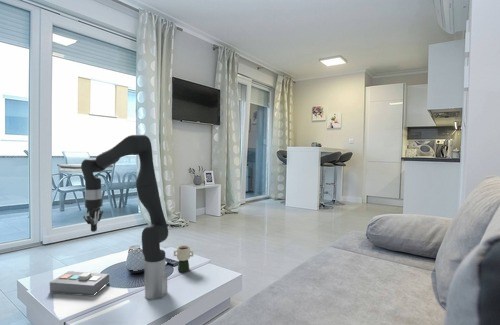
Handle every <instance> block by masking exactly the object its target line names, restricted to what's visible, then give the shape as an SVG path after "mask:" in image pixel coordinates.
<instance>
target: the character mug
mask: <svg viewBox="0 0 500 325" xmlns="http://www.w3.org/2000/svg"><path fill="white" fill-rule="evenodd" d="M173 256H174V257H176V258H177V261H178V264H177V265H178V266H177V271H179V272H180V273H181V272H182V273H184V272H186V271H187V272H188V271H190V264H189V260H190V258H191V257H192V258H193V257H194V251H193V250H191V246H189V245H179V246H177V247H176V250H173Z"/></svg>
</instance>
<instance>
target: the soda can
mask: <svg viewBox="0 0 500 325" xmlns="http://www.w3.org/2000/svg"><path fill="white" fill-rule="evenodd" d="M128 249H129V250H128V252H127V254H128V253H129V251H130V250H133V249H141V250H142V247H141V246H140V245H132V246H129V248H128Z"/></svg>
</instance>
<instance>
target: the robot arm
mask: <svg viewBox="0 0 500 325" xmlns="http://www.w3.org/2000/svg"><path fill="white" fill-rule="evenodd" d="M130 155H132V156H133V155H134V156H135V155H138V157H139V169H138V170H139V171H138V174H137V176H136V182H135V186H136V192H137V197H138V199H139V202H140V203H141V204H142V205H143V207H144V208H145V209H146V211H147V212H148V215H149V218H150V219H149V220H150V225H148V226H145V227H144V229H143V230H142V232H141V252H142V255H143V256H144V297H145V299H148V300H159V299H163V298H164V297H165V295H167V293H168V272H167V270H166V269H167V268H166V252H165V250H163V249H161V245H160V244H161V243H163V242H164V241H166V240H167V238H168V237H169V229H168V227H169V226H168V224H167V221H166V218H165V215H164V214H165V213H164V210H163V207H162V203H161V197H160V192H159V187H158V182H157V177H156V173H155V166H154V159H153V158H154V157H153V149H152V142H151V139H150V137H148V136H147V135H146V134H130V135H127V136H126V137H124V139H123V138H122V140H121V141H120V142H118V143H117V144H115V146H113V147H112V148H109V149H108V150H105V151H103V152H101V153H100V154H98V155H97V156H96V157H95V158H86V159H85V158H84V159H83V160H82V162H81V166H80V170H81V172H82V175H83V179H84V181H85V182H84V183H85V184H84V185H85V186H84V187H85V191H84V204H85V206H84V207H85V208H86V209H87V210H86V215H83V219H84V221H85V222H86V223H87V225H90V232H94V233H95V232H97V230H98V224H99V222H100V221H101V219H102V216H103V214H104V210H101V207H102V206H103V194H102V179H101V178H100V177H99V176H95V175H94V173H101V172H103V171H105V170H107V168H108V167H110V166H113V165H114V164H116V163H117V162H119V161H120V159H121V158H123V157H126V156H130Z"/></svg>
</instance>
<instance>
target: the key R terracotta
mask: <svg viewBox="0 0 500 325" xmlns="http://www.w3.org/2000/svg"><path fill="white" fill-rule="evenodd" d="M64 274H65V273H64ZM62 275H63V274H62ZM72 276H73V275H70V274H65V275H63V276H62V277H60V276H59V277H60V279H66V280H67V279H68V278H70V277H72Z"/></svg>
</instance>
